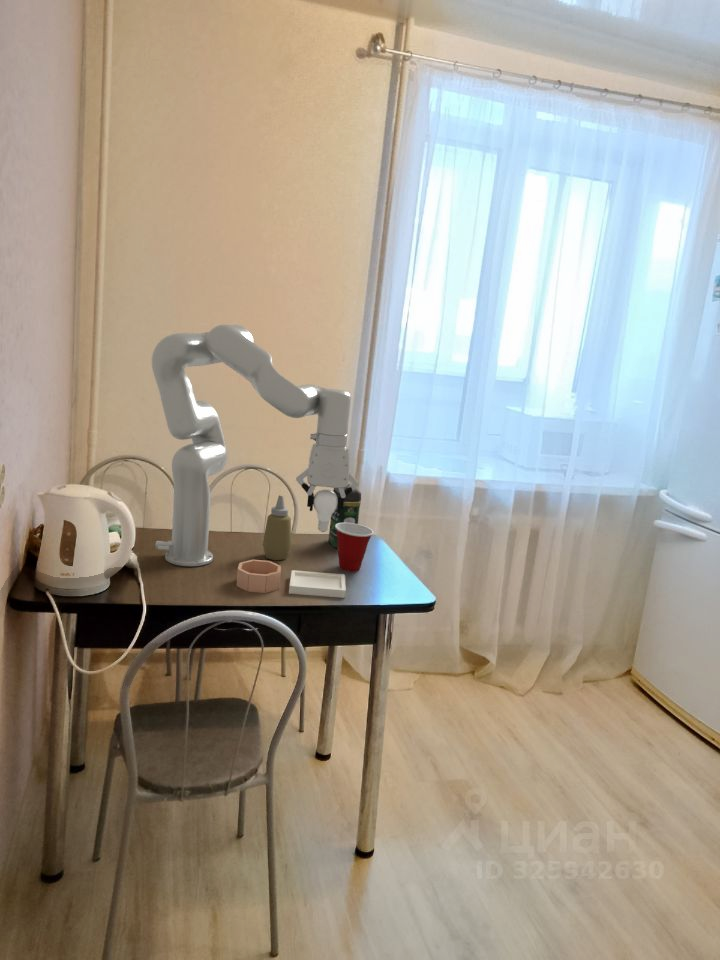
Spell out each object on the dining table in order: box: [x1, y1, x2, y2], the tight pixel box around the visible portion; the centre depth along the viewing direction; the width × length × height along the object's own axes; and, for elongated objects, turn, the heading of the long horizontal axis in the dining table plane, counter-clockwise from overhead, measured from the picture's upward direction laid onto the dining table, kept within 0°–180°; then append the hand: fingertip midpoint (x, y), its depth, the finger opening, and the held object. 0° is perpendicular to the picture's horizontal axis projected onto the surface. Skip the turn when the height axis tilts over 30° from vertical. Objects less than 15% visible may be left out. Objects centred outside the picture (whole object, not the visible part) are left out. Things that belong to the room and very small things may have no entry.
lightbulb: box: [313, 488, 338, 533], centre depth 181 cm, size 6×6×11 cm
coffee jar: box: [328, 483, 362, 549], centre depth 219 cm, size 10×8×19 cm
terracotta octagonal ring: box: [236, 559, 282, 594], centre depth 183 cm, size 11×11×4 cm
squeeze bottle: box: [262, 494, 292, 561], centre depth 202 cm, size 8×8×18 cm
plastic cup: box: [335, 522, 374, 573], centre depth 200 cm, size 11×11×12 cm
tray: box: [288, 569, 347, 599], centre depth 185 cm, size 14×11×2 cm
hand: (324, 510), depth 181 cm, fingers closed on lightbulb, 6 cm apart
